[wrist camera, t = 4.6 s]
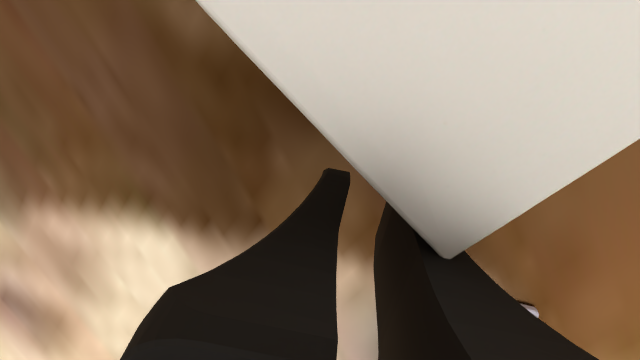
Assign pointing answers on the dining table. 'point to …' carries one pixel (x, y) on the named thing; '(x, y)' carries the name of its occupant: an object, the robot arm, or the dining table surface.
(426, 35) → the supplement box
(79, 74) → the dining table surface
